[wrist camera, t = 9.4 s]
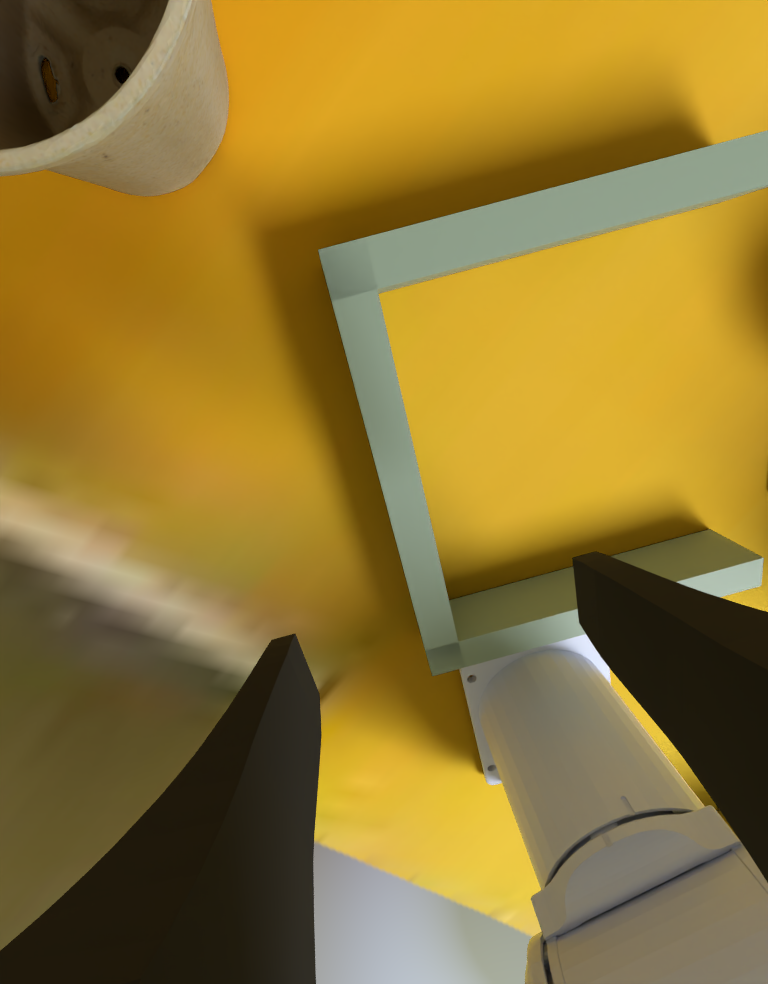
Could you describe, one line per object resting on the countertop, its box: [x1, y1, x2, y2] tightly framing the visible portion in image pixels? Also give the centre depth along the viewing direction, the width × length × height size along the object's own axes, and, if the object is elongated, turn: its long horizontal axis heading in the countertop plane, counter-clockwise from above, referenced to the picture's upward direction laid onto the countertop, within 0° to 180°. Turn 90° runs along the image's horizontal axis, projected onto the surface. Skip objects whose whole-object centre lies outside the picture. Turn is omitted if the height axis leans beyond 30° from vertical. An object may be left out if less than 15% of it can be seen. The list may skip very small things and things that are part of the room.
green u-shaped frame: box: [318, 131, 768, 676], centre depth 18 cm, size 18×16×3 cm
